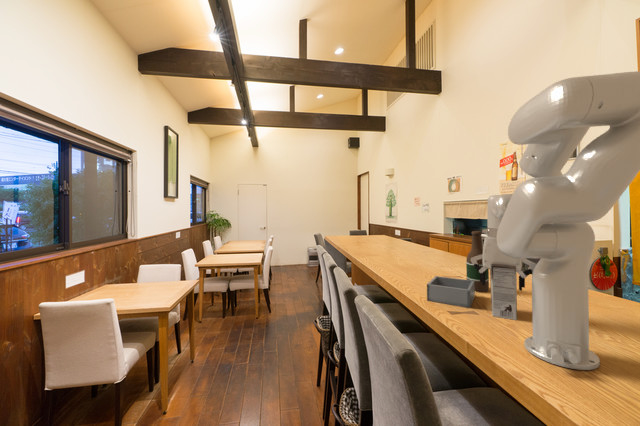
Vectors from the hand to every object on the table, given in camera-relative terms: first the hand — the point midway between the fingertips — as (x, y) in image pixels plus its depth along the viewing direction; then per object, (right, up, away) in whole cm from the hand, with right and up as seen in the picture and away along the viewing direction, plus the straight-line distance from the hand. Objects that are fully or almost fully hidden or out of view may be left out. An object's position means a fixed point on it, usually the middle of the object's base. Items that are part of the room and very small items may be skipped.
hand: (501, 286), depth 84 cm
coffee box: (0, -9, -1) cm, 9 cm away
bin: (-9, -8, +14) cm, 19 cm away
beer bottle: (+6, -8, +23) cm, 25 cm away
